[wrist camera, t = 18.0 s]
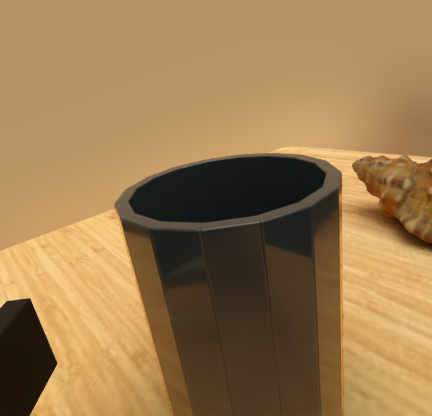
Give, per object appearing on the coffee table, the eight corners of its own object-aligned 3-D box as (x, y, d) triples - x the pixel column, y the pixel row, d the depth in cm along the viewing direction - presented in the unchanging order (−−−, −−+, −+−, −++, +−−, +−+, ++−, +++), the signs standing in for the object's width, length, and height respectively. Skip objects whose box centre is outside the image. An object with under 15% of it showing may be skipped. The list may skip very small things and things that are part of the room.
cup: (163, 498, 13) (80, 246, 9) (181, 343, 20) (141, 168, 16) (374, 477, 13) (386, 204, 9) (314, 327, 20) (305, 144, 16)
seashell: (372, 275, 29) (327, 168, 30) (403, 248, 34) (364, 159, 35) (505, 252, 22) (441, 115, 23) (517, 223, 28) (465, 114, 29)
